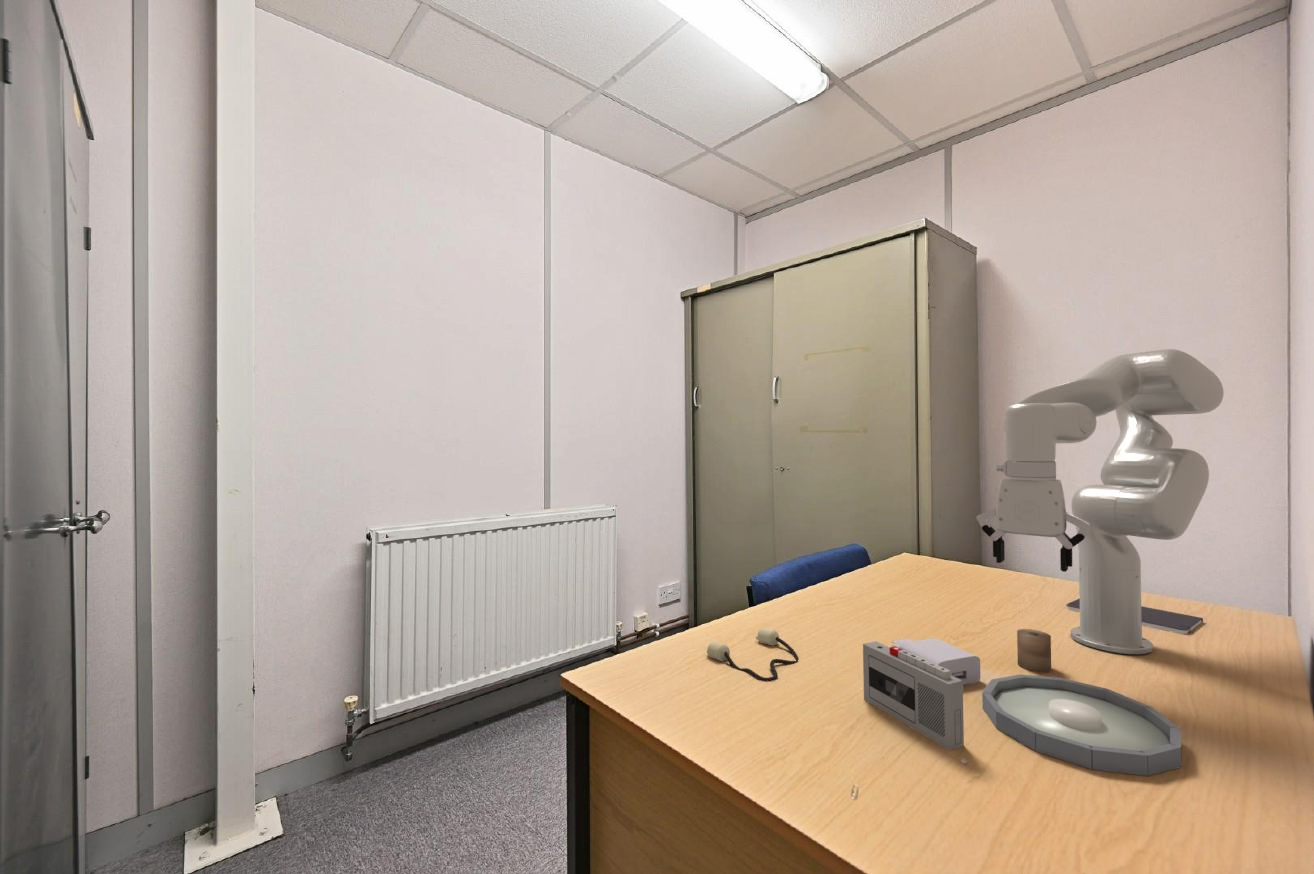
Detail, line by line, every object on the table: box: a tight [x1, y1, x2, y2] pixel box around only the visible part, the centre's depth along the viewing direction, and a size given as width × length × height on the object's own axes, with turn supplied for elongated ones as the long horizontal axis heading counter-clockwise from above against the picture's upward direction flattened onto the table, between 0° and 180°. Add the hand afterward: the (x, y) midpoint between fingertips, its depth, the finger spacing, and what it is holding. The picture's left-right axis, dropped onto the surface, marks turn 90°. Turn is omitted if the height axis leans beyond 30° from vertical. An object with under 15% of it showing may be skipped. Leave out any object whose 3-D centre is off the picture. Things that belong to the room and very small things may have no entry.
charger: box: [890, 637, 981, 686], centre depth 98 cm, size 5×9×15 cm
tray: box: [981, 673, 1182, 777], centre depth 78 cm, size 22×22×2 cm
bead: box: [1016, 628, 1052, 674], centre depth 97 cm, size 5×5×6 cm
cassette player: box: [862, 641, 965, 751], centre depth 80 cm, size 16×3×10 cm, turn 23°
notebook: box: [1065, 597, 1204, 635], centre depth 124 cm, size 13×2×21 cm
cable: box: [706, 627, 800, 682], centre depth 103 cm, size 16×16×4 cm
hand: (1031, 565), depth 97 cm, fingers open, 9 cm apart
